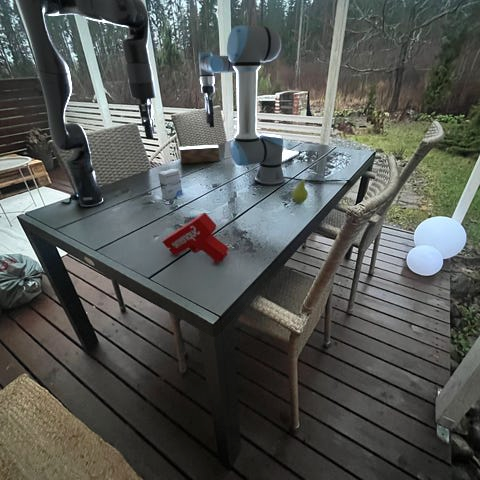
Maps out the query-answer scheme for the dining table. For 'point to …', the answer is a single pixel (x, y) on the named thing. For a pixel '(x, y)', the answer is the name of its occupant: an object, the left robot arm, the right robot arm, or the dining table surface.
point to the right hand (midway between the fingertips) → (210, 125)
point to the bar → (199, 154)
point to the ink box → (170, 183)
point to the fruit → (300, 192)
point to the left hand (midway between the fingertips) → (150, 136)
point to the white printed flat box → (288, 154)
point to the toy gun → (197, 239)
